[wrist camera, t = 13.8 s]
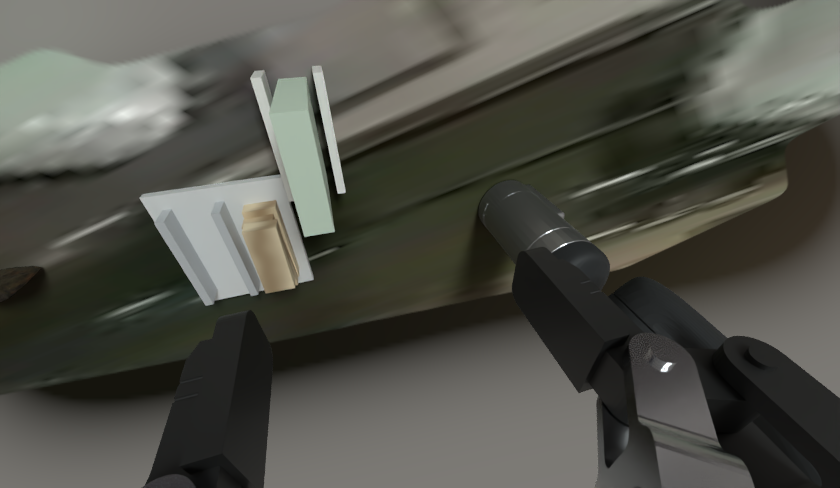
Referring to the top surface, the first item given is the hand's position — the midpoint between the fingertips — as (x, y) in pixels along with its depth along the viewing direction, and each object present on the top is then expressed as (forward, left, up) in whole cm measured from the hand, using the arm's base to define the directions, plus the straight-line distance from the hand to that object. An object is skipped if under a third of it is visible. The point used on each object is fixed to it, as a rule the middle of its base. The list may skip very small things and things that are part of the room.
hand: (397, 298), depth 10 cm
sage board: (+4, +6, -36) cm, 37 cm away
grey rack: (+16, +20, -36) cm, 44 cm away
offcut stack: (+12, +20, -35) cm, 42 cm away
